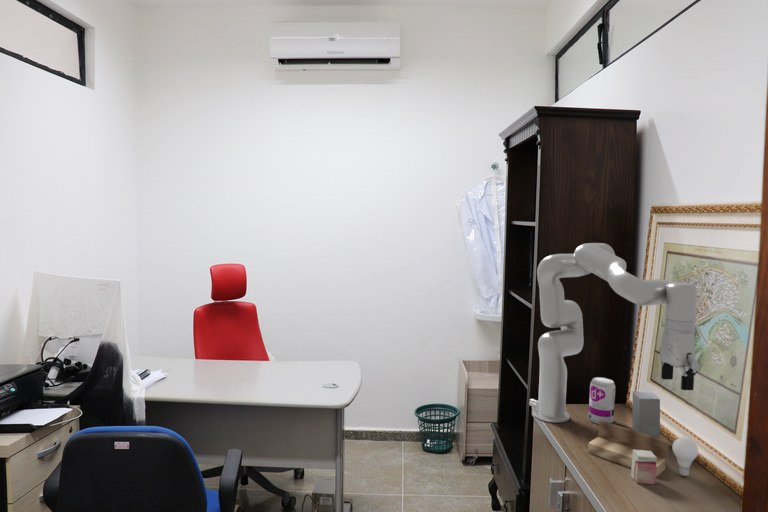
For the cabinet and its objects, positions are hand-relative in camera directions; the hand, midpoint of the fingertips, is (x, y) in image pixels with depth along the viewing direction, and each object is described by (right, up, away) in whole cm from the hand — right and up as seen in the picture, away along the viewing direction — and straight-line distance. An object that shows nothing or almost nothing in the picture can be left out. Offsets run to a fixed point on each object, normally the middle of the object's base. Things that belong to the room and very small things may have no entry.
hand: (676, 384), depth 147 cm
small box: (-12, -26, -4) cm, 29 cm away
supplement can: (-6, -23, +37) cm, 44 cm away
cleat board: (-11, -25, +8) cm, 28 cm away
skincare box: (+1, -24, +21) cm, 32 cm away
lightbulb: (+1, -26, -1) cm, 26 cm away
